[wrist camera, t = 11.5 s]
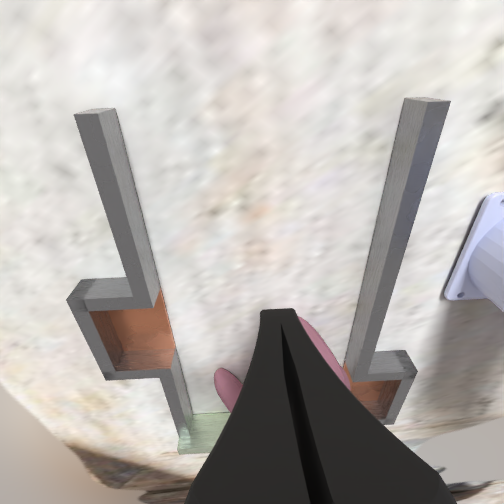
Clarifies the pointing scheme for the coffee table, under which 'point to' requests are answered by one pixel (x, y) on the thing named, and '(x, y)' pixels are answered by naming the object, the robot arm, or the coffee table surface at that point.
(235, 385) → the video game controller
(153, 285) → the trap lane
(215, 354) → the coffee table surface
